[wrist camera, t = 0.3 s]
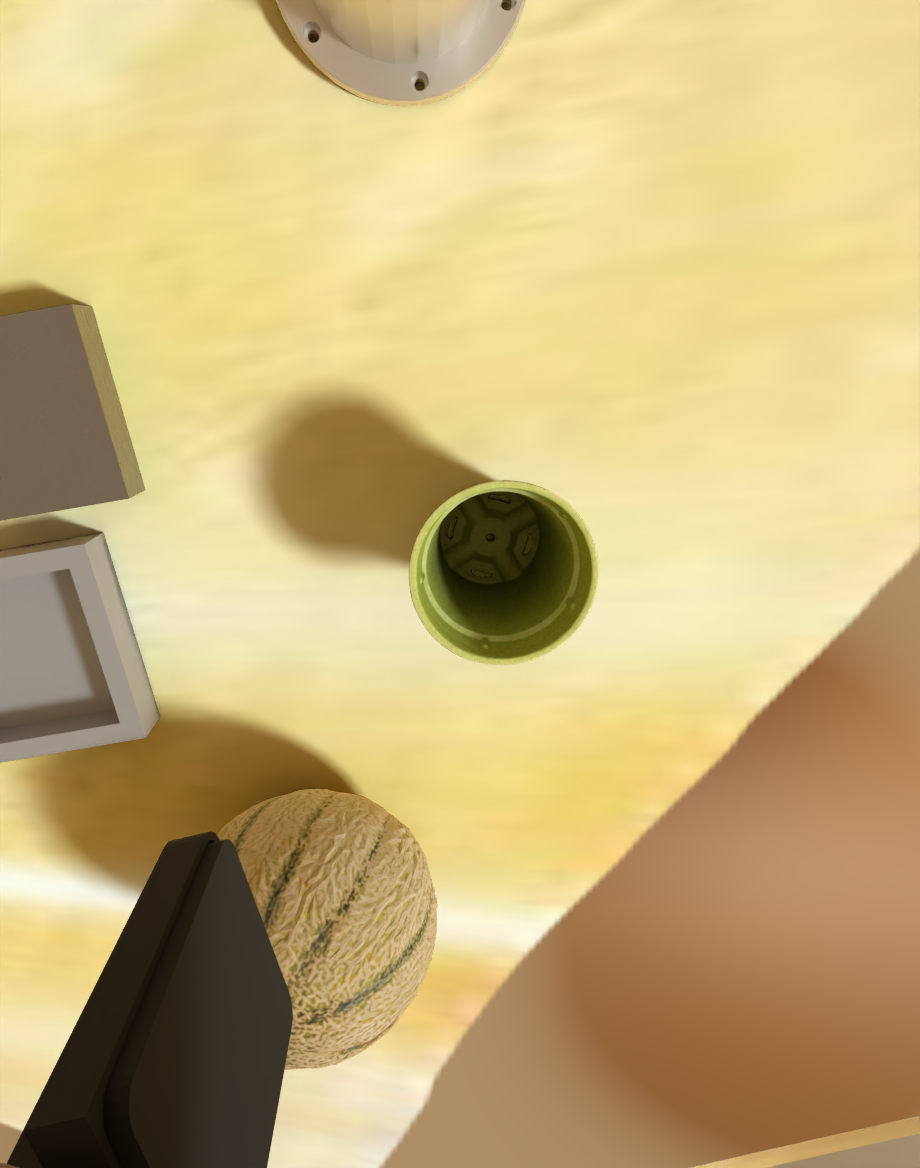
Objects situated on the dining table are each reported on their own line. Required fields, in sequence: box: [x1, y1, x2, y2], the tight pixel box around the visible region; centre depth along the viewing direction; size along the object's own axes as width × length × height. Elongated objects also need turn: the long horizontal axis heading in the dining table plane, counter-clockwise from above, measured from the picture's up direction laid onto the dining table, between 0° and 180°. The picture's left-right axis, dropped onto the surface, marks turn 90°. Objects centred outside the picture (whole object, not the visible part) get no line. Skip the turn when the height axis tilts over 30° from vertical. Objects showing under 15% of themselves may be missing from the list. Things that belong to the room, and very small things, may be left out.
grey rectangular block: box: [0, 304, 145, 520], centre depth 42 cm, size 10×8×3 cm
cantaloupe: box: [216, 788, 437, 1070], centre depth 45 cm, size 15×15×15 cm
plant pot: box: [409, 480, 599, 665], centre depth 42 cm, size 9×9×9 cm
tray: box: [0, 533, 160, 763], centre depth 45 cm, size 12×12×3 cm
